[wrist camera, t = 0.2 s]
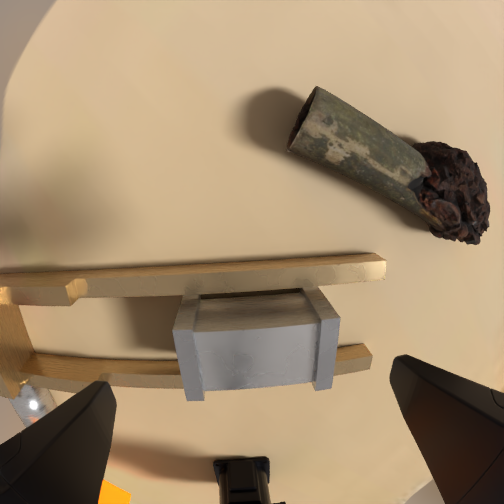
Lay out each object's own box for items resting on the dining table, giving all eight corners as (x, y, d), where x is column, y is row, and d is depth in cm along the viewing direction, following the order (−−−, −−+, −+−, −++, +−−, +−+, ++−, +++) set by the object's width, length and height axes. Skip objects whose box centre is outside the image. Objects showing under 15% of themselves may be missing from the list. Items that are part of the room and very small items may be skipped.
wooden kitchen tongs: (352, 401, 27) (383, 463, 19) (35, 401, 25) (5, 450, 16) (374, 253, 23) (440, 296, 14) (-15, 274, 20) (-71, 310, 12)
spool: (311, 345, 25) (331, 388, 19) (193, 354, 24) (186, 400, 18) (315, 282, 23) (340, 317, 17) (184, 291, 22) (172, 330, 17)
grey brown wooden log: (279, 151, 20) (297, 144, 15) (315, 74, 19) (342, 47, 13) (447, 247, 23) (487, 265, 18) (472, 184, 22) (514, 191, 17)
